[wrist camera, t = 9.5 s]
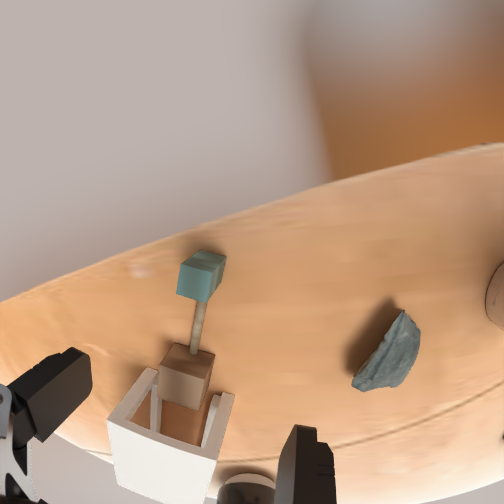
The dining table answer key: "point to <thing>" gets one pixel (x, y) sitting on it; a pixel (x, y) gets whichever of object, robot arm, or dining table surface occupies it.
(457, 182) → the dining table surface
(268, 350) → the dining table surface
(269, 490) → the pump dispenser
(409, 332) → the stone
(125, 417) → the white open frame stand
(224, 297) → the dining table surface
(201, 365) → the tethered block
